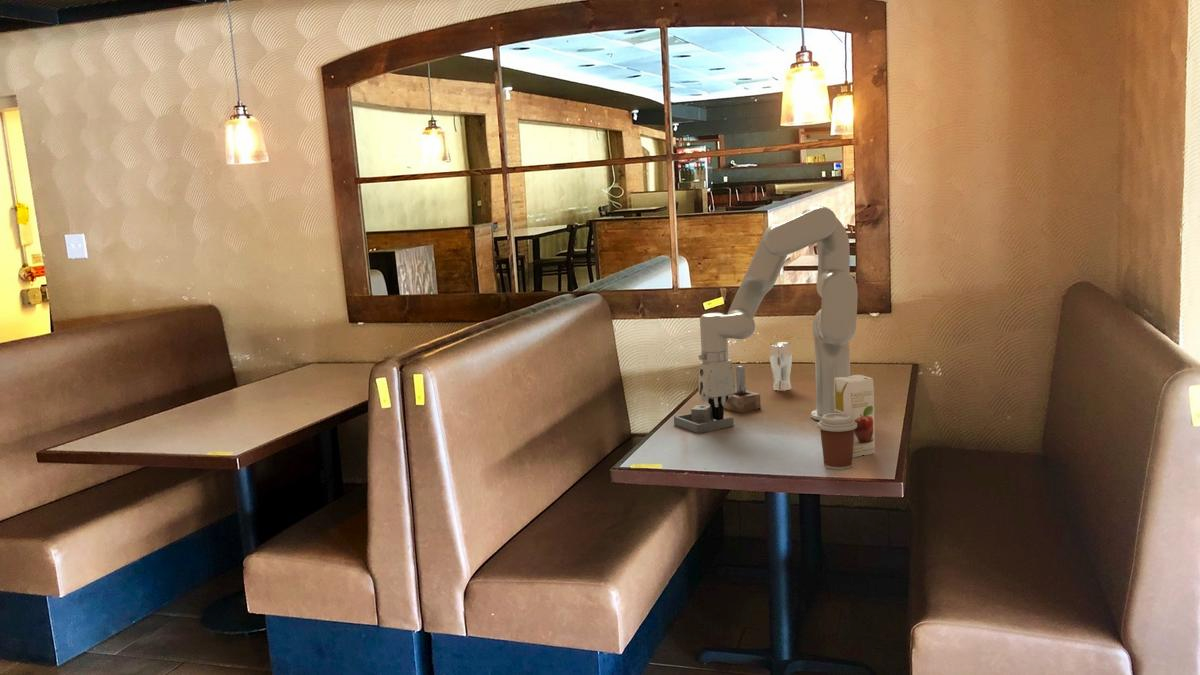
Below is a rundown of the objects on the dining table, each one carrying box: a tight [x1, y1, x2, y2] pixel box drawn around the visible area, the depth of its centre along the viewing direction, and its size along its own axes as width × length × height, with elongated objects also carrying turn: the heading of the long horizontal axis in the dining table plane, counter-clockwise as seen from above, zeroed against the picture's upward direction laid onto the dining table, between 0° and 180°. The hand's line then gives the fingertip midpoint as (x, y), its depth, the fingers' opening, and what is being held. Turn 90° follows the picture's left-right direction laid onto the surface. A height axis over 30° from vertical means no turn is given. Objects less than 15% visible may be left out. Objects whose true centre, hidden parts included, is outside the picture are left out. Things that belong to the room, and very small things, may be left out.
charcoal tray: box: [673, 412, 735, 434], centre depth 261 cm, size 12×12×2 cm
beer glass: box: [769, 342, 793, 392], centre depth 298 cm, size 7×7×15 cm
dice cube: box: [690, 404, 715, 424], centre depth 262 cm, size 5×5×5 cm
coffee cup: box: [816, 413, 857, 471], centre depth 216 cm, size 9×9×12 cm
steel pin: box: [735, 364, 747, 396], centre depth 277 cm, size 3×3×13 cm
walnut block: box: [723, 389, 762, 413], centre depth 278 cm, size 8×8×4 cm
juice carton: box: [834, 374, 876, 459], centre depth 224 cm, size 8×9×19 cm
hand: (718, 419), depth 263 cm, fingers closed
